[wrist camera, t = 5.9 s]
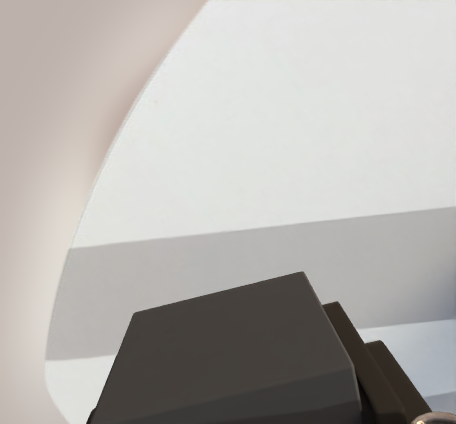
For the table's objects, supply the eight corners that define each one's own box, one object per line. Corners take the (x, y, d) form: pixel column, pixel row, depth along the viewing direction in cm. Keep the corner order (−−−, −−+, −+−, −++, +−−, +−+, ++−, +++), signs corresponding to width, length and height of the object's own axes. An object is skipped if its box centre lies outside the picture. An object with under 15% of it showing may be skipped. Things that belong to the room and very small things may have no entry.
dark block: (182, 444, 12) (166, 604, 8) (133, 311, 11) (86, 427, 7) (333, 409, 12) (391, 556, 8) (303, 269, 10) (354, 364, 7)
